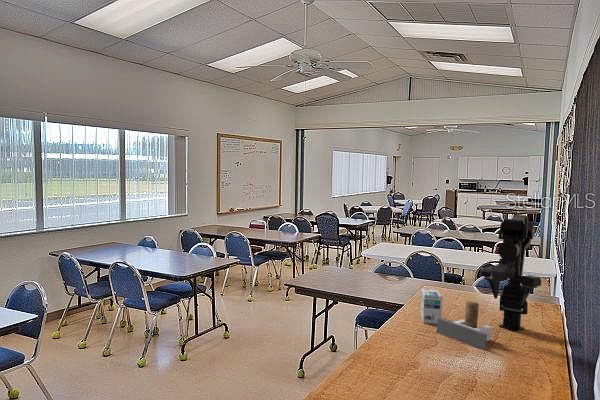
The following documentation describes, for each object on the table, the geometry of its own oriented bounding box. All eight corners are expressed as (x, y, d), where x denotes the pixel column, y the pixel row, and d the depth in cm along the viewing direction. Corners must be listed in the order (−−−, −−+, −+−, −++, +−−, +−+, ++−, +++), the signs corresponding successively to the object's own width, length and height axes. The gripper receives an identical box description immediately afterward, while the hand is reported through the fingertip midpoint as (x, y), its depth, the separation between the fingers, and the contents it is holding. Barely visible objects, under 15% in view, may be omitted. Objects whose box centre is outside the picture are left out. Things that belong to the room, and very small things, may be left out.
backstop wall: (439, 332, 162) (440, 317, 162) (486, 349, 147) (487, 333, 147) (436, 332, 161) (437, 318, 161) (483, 349, 146) (484, 334, 146)
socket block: (465, 331, 164) (466, 318, 164) (490, 340, 156) (491, 326, 155) (449, 335, 159) (450, 322, 158) (474, 344, 151) (475, 331, 150)
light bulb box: (441, 325, 170) (443, 296, 169) (422, 323, 171) (424, 294, 171) (437, 316, 181) (439, 289, 180) (419, 315, 182) (421, 288, 181)
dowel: (472, 335, 159) (474, 301, 159) (478, 340, 156) (481, 304, 155) (461, 335, 159) (463, 301, 158) (467, 340, 155) (470, 304, 154)
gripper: (472, 253, 159) (469, 298, 160) (525, 262, 144) (522, 312, 144) (491, 251, 165) (488, 294, 166) (543, 260, 150) (540, 307, 151)
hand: (508, 301), depth 157 cm, fingers open, 9 cm apart
